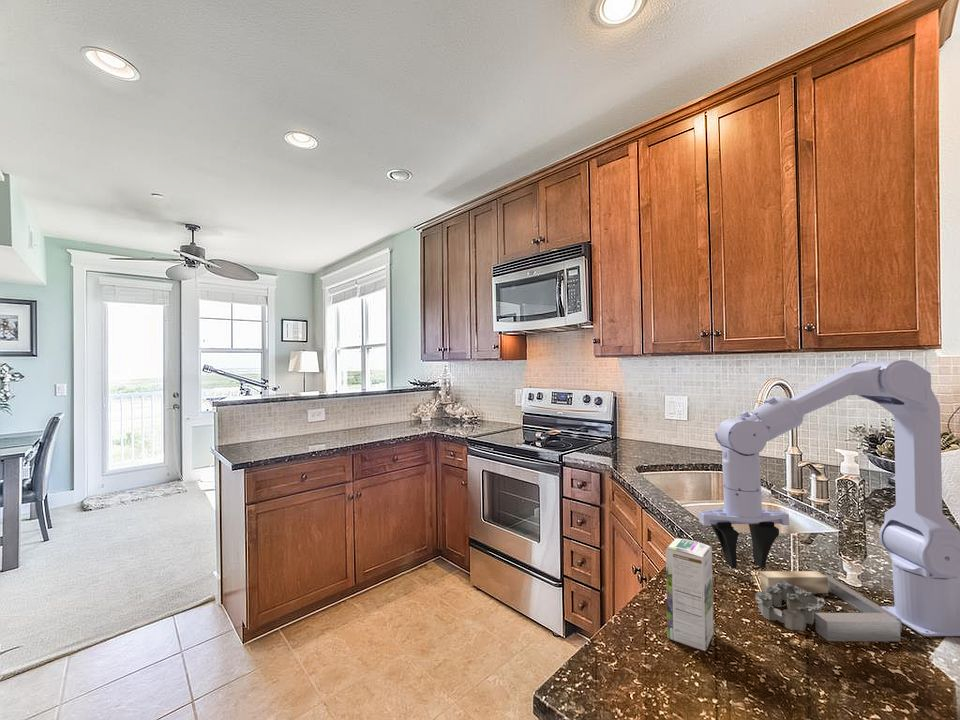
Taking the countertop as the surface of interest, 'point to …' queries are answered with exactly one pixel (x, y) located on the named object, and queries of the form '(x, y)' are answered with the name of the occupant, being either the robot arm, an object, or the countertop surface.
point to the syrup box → (689, 593)
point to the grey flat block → (857, 619)
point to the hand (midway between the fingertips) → (745, 565)
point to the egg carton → (789, 605)
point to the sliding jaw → (796, 580)
